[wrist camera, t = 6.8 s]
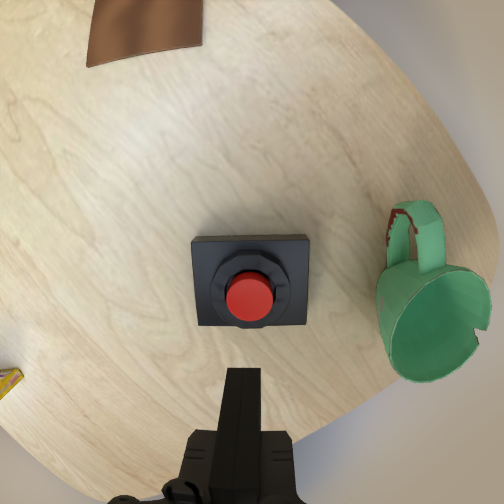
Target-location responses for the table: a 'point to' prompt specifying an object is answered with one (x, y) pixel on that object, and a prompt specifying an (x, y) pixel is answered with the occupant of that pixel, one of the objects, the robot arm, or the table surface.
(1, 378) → the candy box
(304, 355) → the table surface
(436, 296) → the mug
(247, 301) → the stop button
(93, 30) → the brown pad
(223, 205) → the table surface
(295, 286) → the control block
